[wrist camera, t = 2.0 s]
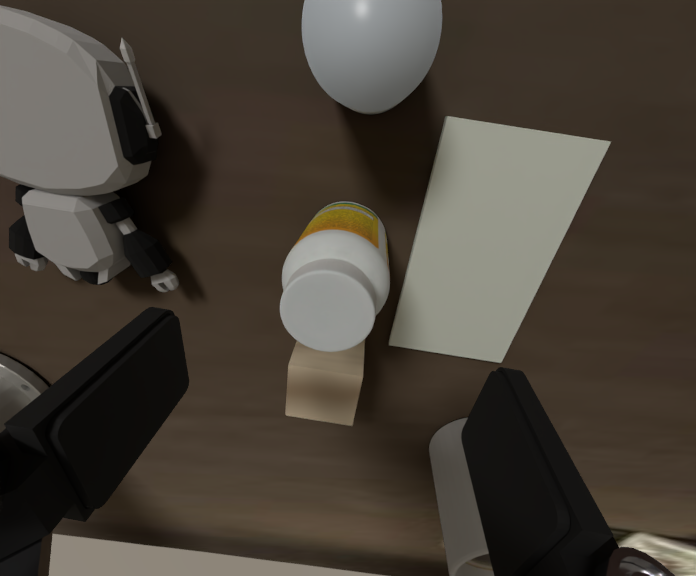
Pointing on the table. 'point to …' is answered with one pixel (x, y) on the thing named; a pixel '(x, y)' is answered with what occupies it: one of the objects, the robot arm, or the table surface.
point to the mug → (458, 504)
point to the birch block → (324, 383)
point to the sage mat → (488, 234)
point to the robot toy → (75, 151)
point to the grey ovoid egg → (370, 48)
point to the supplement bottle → (336, 278)
